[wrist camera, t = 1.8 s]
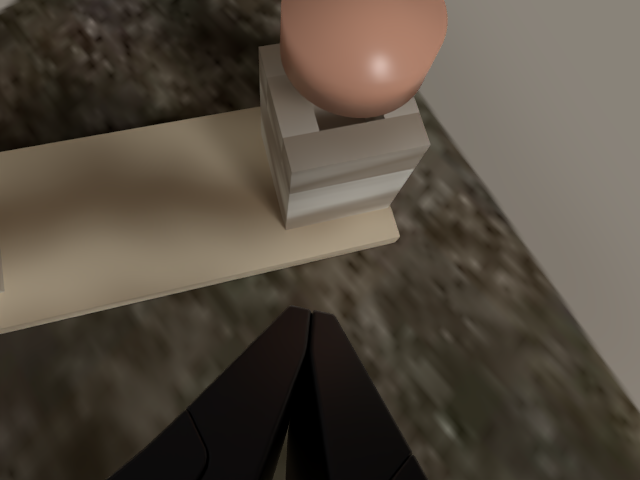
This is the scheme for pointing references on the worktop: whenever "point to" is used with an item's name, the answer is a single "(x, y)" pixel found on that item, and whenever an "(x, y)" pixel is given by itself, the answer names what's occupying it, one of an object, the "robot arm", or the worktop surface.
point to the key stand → (196, 201)
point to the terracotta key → (360, 51)
